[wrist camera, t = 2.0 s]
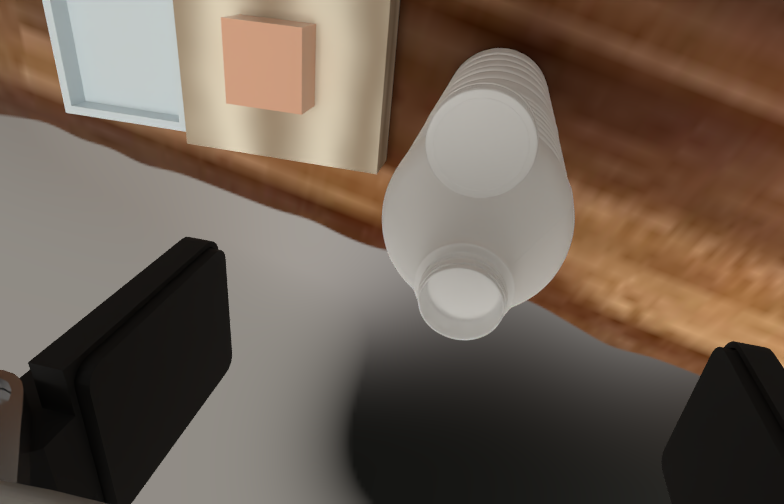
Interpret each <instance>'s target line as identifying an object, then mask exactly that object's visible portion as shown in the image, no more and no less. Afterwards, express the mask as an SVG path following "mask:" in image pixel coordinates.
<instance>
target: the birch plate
mask: <svg viewBox="0 0 784 504" xmlns="http://www.w3.org/2000/svg"><path fill="white" fill-rule="evenodd" d="M173 9H174V18H175V28H176V38H177V48H178V58H179V67H180V77H181V87H182V97H183V107H184V116H185V126H186V136H187V143H188V144H194V145H200V146H206V147H212V148H218V149H225V150H231V151H237V152H243V153H249V154H255V155H262V156H268V157H274V158H280V159H286V160H292V161H299V162H305V163H311V164H317V165H323V166H329V167H335V168H342V169H348V170H354V171H360V172H366V173H372V174H377V173H378V172H379V170H380V169H381V167H382V166H383V164H384V163H385V161H386V157H387V146H388V135H389V123H390V112H391V101H392V89H393V78H394V66H395V55H396V44H397V32H398V21H399V9H400V0H173ZM238 14H241V15H250V16H258V17H266V18H274V19H282V20H290V21H298V22H306V23H314V24H316V57H315V106H314V107H312V108H311V109H309V110H308V111H306V112H305V113H303V114H302V115H300V114H293V113H287V112H280V111H273V110H267V109H260V108H253V107H246V106H240V105H233V104H226V93H225V77H224V61H223V45H222V29H221V17H226V16H232V15H238Z"/></svg>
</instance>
